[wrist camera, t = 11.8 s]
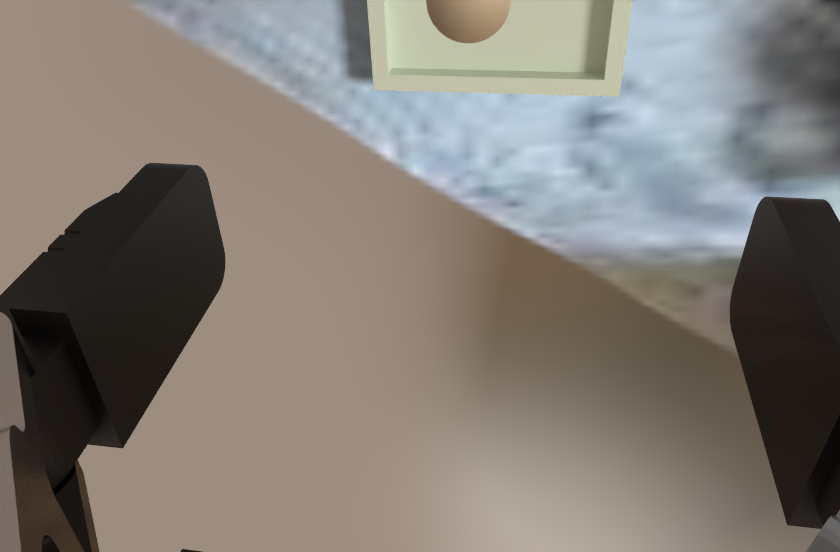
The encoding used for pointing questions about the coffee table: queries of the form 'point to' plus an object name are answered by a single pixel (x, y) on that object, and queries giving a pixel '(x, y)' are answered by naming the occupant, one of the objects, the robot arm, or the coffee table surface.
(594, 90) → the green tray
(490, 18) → the birch pin
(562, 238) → the coffee table surface
